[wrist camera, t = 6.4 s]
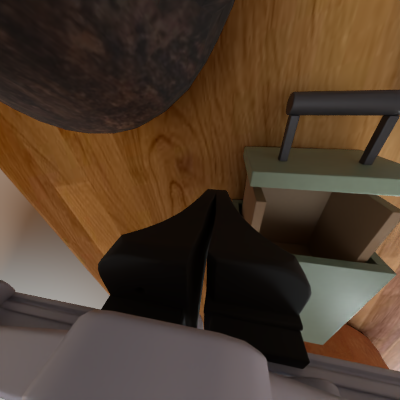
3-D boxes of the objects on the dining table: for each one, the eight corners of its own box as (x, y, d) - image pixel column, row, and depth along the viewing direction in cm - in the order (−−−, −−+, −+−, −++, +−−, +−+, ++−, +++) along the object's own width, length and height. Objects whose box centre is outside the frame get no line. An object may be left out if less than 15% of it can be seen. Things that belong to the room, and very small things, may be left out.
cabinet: (232, 199, 22) (232, 253, 14) (331, 207, 20) (397, 274, 12) (224, 265, 30) (222, 325, 22) (296, 275, 28) (322, 345, 20)
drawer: (251, 95, 15) (266, 88, 9) (389, 93, 13) (541, 83, 7) (232, 235, 25) (232, 283, 18) (312, 244, 23) (345, 301, 16)
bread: (248, 331, 42) (256, 448, 28) (326, 306, 31) (406, 477, 17) (294, 356, 45) (323, 473, 31) (380, 341, 34) (488, 512, 20)
